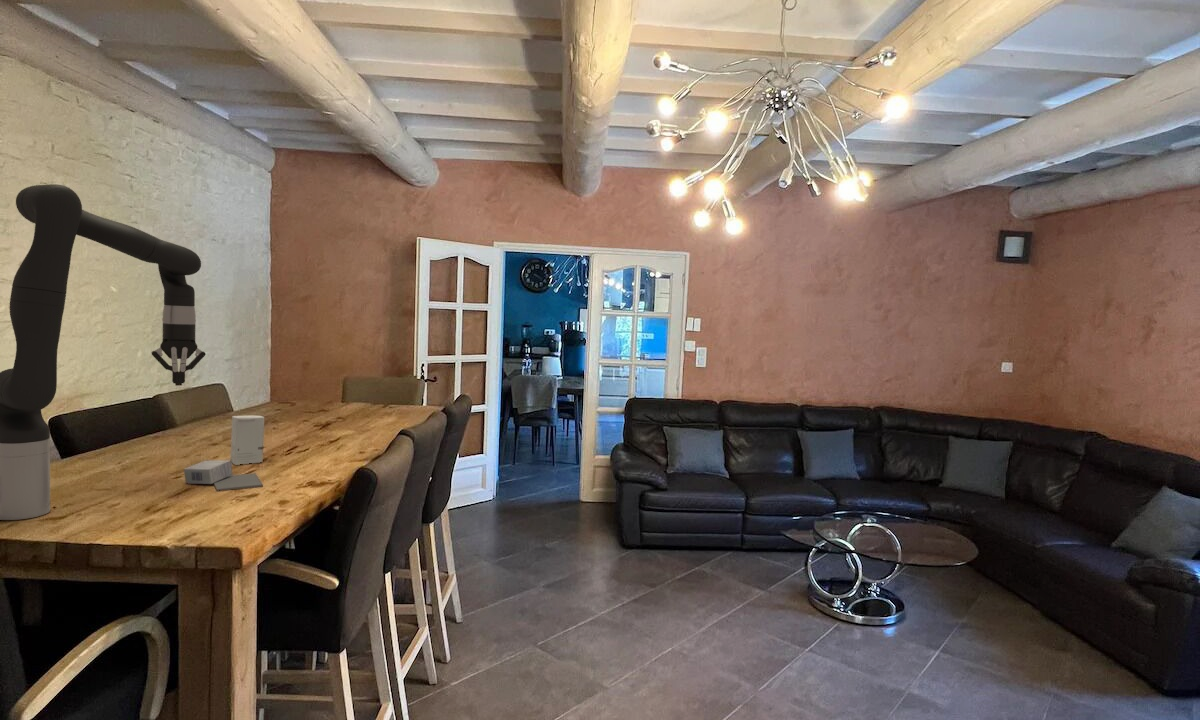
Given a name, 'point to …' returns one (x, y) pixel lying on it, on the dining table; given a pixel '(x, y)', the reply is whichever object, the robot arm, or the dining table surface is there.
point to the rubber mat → (238, 482)
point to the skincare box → (247, 439)
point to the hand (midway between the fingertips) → (178, 385)
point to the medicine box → (208, 472)
